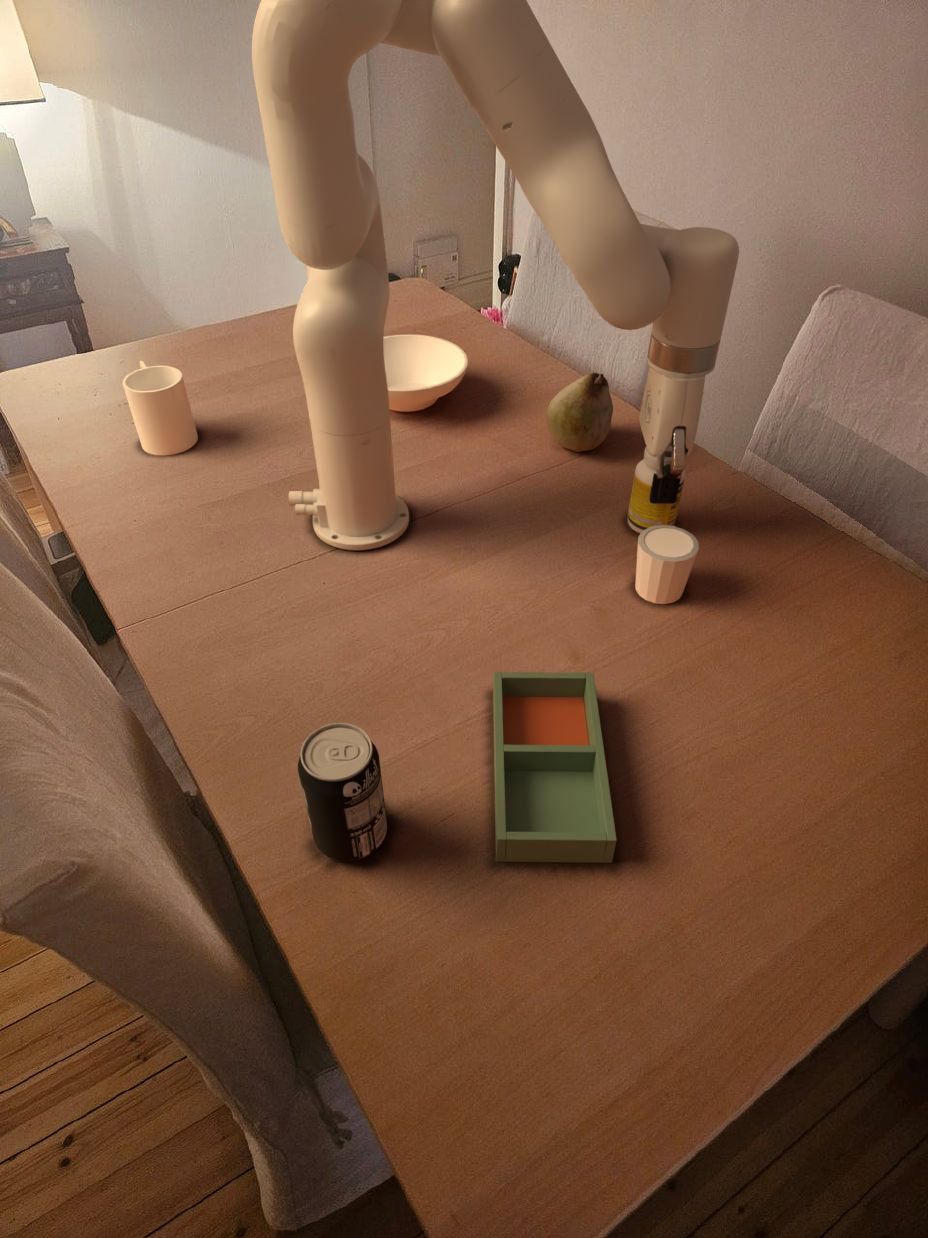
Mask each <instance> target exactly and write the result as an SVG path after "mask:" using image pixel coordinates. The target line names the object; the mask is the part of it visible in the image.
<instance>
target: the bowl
mask: <svg viewBox="0 0 928 1238" xmlns="http://www.w3.org/2000/svg"><path fill="white" fill-rule="evenodd" d="M384 361H385V369H386V377H387V386H388V396H389V410H390V411H394V412H401V413H402V412H408V413H409V412H416V411H421V410H424V409H427V408H429V407H431V406H433V405H434V404H435V403H436V402H437V400H438V399H439V398H441V397H443V396H446V395H447V394H449V393H451V392H452V391H453V390H455V388H456V387H457V386H458V385H459V384H460V383H461V381H462V380H463V378H464V376H465V375H466V373H467V371H468V370H467V369H468V365H469V357H468V355H467V353H466V351H464V349H463V348H462V347H460V346H459V345H457V344H455V343H454V342H452V341H449V340H447V339H444V338H441V337H438V336H437V337H436V336H432V335H424V334H408V333H407V334H393V335H386V336H385V335H384Z"/></svg>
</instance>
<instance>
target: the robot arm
mask: <svg viewBox="0 0 928 1238" xmlns="http://www.w3.org/2000/svg"><path fill="white" fill-rule="evenodd" d="M251 37H252V38H251V61H252V62H251V63H252V72H253V79H254V86H255V91H256V96H257V101H258V102H257V103H258V107H259V108H258V109H259V112H260V119H261V124H262V130H263V136H264V137H263V138H264V143H265V149H266V155H267V161H268V165H269V172H270V176H271V182H272V187H273V193H274V198H275V205H276V212H277V218H278V223H279V228H280V232H281V234H282V237H283V240H284V242H285V244H286V245H287V247H288V249H289V250H290V252H291V253H292V254H293V256H295V257H296V259H298V261H300V262H301V263H302V264H304V266H305V270H306V277H307V281H306V283H305V286H304V288H303V289H302V292H301V295H300V297H299V299H298V303H297V305H296V308H295V313H294V317H293V324H292V339H293V346H294V352H295V357H296V360H297V363H298V368H299V371H300V374H301V378H302V383H303V389H304V393H305V401H306V405H307V412H308V419H309V424H310V430H311V438H312V444H313V445H312V446H313V451H314V458H315V459H314V460H315V465H316V472H317V478H318V485H319V486H318V487H319V488H313V489H312V491H304V490H289V491H288V504H289V506H290V507H294V514H295V515H296V516H306V515H312V527H313V531H314V533H315V534H316V536H317V537H318V538H319V539H320V540H321V541H323V542H324V543H325V544H327V545H329V546H331V547H333V548H337V549H341V550H347V551H366V550H373V549H377V548H381V547H383V546H386V545H389V544H390V543H392V542H394V541H396V540H397V539H398V538H400V537H401V536H403V534H404V533H405V532H406V531H407V529H408V527H409V523H410V511H409V507H408V505H407V504H406V503H405V501H404V500H403V499H402V498H400V497H399V496H397V495H396V493H397V492H396V483H395V482H396V481H395V468H394V467H395V466H394V465H395V464H394V454H393V439H392V438H393V437H392V426H391V412H390V411H391V410H390V409H389V396H388V386H387V377H386V369H385V361H384V337H385V327H386V321H387V315H388V310H389V304H390V289H391V288H390V279H389V278H390V277H389V271H388V270H389V269H388V259H387V252H386V251H387V250H386V242H385V234H384V233H385V232H384V227H383V226H384V225H383V217H382V209H381V207H382V206H381V199H380V192H379V188H378V184H377V181H376V178H375V175H374V174H373V171H372V169H371V167H370V166H369V164H368V163H367V161H366V160H365V159H364V158H363V156H361V155H360V154H359V153H358V150H357V143H356V134H355V119H354V113H353V108H352V101H351V96H350V91H349V78H350V73H351V70H352V68H353V66H354V64H355V62H356V61H357V60H358V59H359V58H360V57H362V56H364V55H365V54H367V53H368V52H370V51H372V50H373V49H375V48H376V47H378V46H379V45H380V44H384V45H388V46H393V47H396V48H399V49H400V48H401V49H406V50H410V51H414V52H417V53H422V54H426V55H432V56H438V57H440V59H441V60H442V63H443V64H444V66H445V68H446V69H447V71H448V73H449V75H450V76H451V78H452V80H453V81H454V83H455V84H456V85H457V87H458V89H459V90H460V92H461V93H462V95H463V97H464V98H465V100H466V102H467V103H468V105H469V106H470V107H471V108H472V111H473V112H474V113H475V115H476V116H477V118H478V120H479V121H480V123H481V124H482V126H483V127H484V129H485V130H486V132H487V134H488V135H489V137H490V138H491V140H492V142H493V143H494V146H496V148H497V150H498V152H499V153H500V155H501V156H502V158H503V160H504V161H505V163H506V164H507V165H508V168H509V169H510V171H511V173H512V174H513V176H514V177H515V179H516V181H517V183H518V184H519V186H520V189H521V190H522V192H523V194H524V196H525V198H526V199H527V201H528V202H529V205H530V206H531V208H532V209H533V210H534V212H535V213H536V215H537V216H538V217H539V219H540V221H541V222H542V224H543V226H544V228H545V229H546V231H547V232H548V234H549V236H550V237H551V240H552V241H553V243H554V245H555V246H556V249H557V250H558V252H559V253H560V255H561V257H562V259H563V260H564V262H565V264H566V265H567V267H568V268H569V270H570V272H571V274H572V275H573V277H574V278H575V280H576V281H577V283H578V284H579V286H580V287H581V289H582V290H583V292H584V294H585V295H586V297H587V298H588V300H589V302H590V303H591V305H592V306H593V308H594V310H596V312H597V313H598V315H599V316H600V317H601V318H602V319H603V320H604V321H605V322H606V323H608V324H609V325H610V326H613V327H614V328H617V329H619V330H623V331H626V330H627V331H634V330H640V329H642V328H646V327H647V326H649V325H651V324H652V325H651V332H650V338H649V344H648V351H647V357H646V363H647V364H648V366H649V368H648V372H647V377H646V381H645V385H644V391H643V396H642V399H641V400H642V401H641V405H640V411H639V424H640V429H641V432H642V436H643V440H644V448H643V455H642V459H641V460H643V459H644V451H645V448H646V447H647V450H648V452H649V453H650V454H651V455H652V456H656V455H657V456H658V465H657V474H654V475H653V481H652V487H651V492H650V498H649V500H650V503H656V504H673V503H675V502H676V499H677V494H678V489H679V485H680V480H681V477H682V472H683V470H685V467H686V463H685V462H686V460H685V459H686V457H689V455H691V453H692V451H693V448H694V444H695V440H696V436H697V431H698V427H699V423H700V415H701V409H702V403H703V397H704V393H705V392H704V390H705V389H704V388H705V381H706V376H707V375H709V374H711V373H712V372H713V371H714V370H715V368H716V362H717V358H718V353H719V349H720V344H721V341H722V336H723V331H724V326H725V321H726V317H727V312H728V308H729V303H730V299H731V294H732V289H733V286H734V285H733V284H734V280H735V275H736V270H737V266H738V261H739V255H740V248H739V242H738V240H737V239H736V237H734V236H733V235H732V234H730V233H729V232H727V231H723V230H721V229H718V228H713V227H706V226H705V227H704V226H695V227H694V226H693V227H687V228H682V229H676V228H675V229H673V228H666V227H660V226H655V225H649V224H644V223H641V222H640V220H639V219H638V216H637V215H636V213H635V211H634V209H633V207H632V205H631V204H630V202H629V200H628V198H627V196H626V194H625V193H624V190H623V188H622V186H621V184H620V182H619V179H618V177H617V175H616V173H615V171H614V169H613V167H612V164H611V161H610V159H609V157H608V153H607V151H606V148H605V145H604V143H603V140H602V137H601V134H600V132H599V131H598V128H597V126H596V125H595V122H594V120H593V118H592V116H591V114H590V112H589V110H588V108H587V107H586V105H585V103H584V101H583V99H582V98H581V96H580V95H579V93H578V91H577V89H576V87H575V85H574V83H573V82H572V81H571V79H570V77H569V75H568V73H567V71H566V70H565V68H564V66H563V64H562V62H561V61H560V59H559V56H558V55H557V53H556V52H555V50H554V47H553V46H552V44H551V42H550V41H549V39H548V37H547V34H546V33H545V32H544V29H543V27H542V26H541V24H540V22H539V21H538V19H537V17H536V15H535V14H534V11H533V10H532V8H531V6H530V4H529V2H528V0H260V2H259V5H258V8H257V11H256V14H255V19H254V23H253V30H252V36H251ZM668 446H672V451H665V450H666V448H667V447H668ZM665 457H672V459H671V462H670V464H667V465H666V466H664V459H665Z"/></svg>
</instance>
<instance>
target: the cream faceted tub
mask: <svg viewBox="0 0 928 1238" xmlns="http://www.w3.org/2000/svg"><path fill="white" fill-rule="evenodd" d="M699 550H700V547H699V541H698V540H697V538H696V537H695V536H694V535H693V533H690V531H688V530H686V529H684V528H681V527H679V526H675V525H674V526H669V525H658V526H652V527H649V528H647V529H645V530H643V531H642V532H641V534H640V533H639V535H638V537H637V551H636V566H635V567H636V568H635V582H634V583H635V584H634V585H635V591H636V593H637V594H638V596H639V597H641V598H642V599H643V600H645V601H646V602H651V603H653V604H659V605H667V604H673V603H675V602H677V601H678V600H680V599H681V598H682V596H683V593H684V591H685V587H686V585H687V583H688V580H689V577H690V574H691V572H692V569H693V566H694V563H695V561H696V559H697V555H698V552H699Z"/></svg>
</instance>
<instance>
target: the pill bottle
mask: <svg viewBox="0 0 928 1238" xmlns="http://www.w3.org/2000/svg"><path fill="white" fill-rule="evenodd" d="M665 451H672V446H668V447H667V448H666V450H665ZM643 453H644V459H643V458H642V459H643V460H642V459H641V460H640V461H639V462H638V463H637V464H636V467H635V469H634V475H633V481H632V485H631V493H630V499H629V506H628V512H627V516H626V517H627V518H626V519H627V520H626V521H627V524H628V526H629V527H630V528H631V529H632V530H633V531H634V532H636V533H637V534H639V535H640V534H641V532H642V531H643V530H645V529H647V528H649V527H652V526H658V525H669V526H675V525H676V521H677V517H678V513H679V507H680V502H681V498H682V493H683V488H684V484H685V479H686V471H685V469H684V470H683V472H682V477H681V480H680V485H679V489H678V494H677V499H676V502H675V503H673V504H656V503H650V500H649V498H650V492H651V487H652V481H653V475H654V474H657V465H658V456H657V455H656V456H652V455H651V454H650V453H649V452H648V450H647V447H646V448H645V451H644V450H643ZM671 459H672V457H665V459H664V466H666V465H667V464H670V462H671Z"/></svg>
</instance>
